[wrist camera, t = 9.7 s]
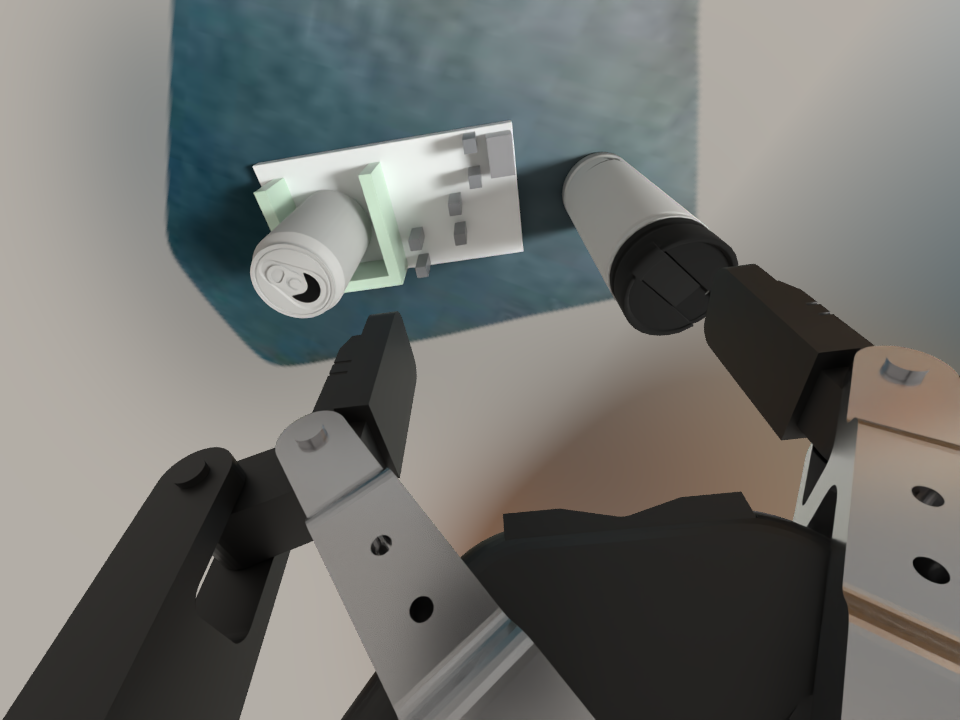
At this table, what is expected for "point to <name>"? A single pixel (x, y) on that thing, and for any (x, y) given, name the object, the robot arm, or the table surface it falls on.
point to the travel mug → (644, 244)
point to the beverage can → (311, 255)
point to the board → (425, 190)
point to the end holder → (394, 265)
